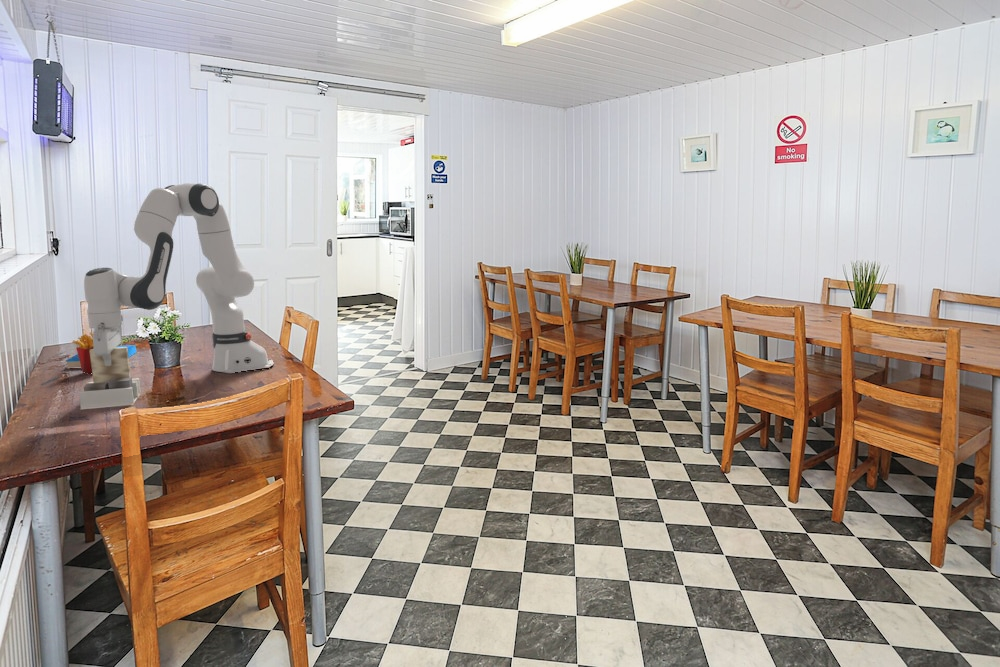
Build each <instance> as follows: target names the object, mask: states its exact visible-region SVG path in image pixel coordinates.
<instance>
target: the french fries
mask: <svg viewBox="0 0 1000 667" xmlns="http://www.w3.org/2000/svg"><path fill="white" fill-rule="evenodd" d="M72 343H73V344H75V345H77V347H76V352H77V354H78V356H79V360H80V364H81V368H82V369H81V370H82V373H83V372H85V373H88V374H91V373H92V366H91V359H90V351H89V350H90V349H94V347H93V332H89V335H87V334H86V333H84V334H83V335H81V336H80V337H79V336H78V337H77V340H73V341H72ZM85 373H84V374H85ZM88 374H87V375H88ZM91 375H92V374H91Z"/></svg>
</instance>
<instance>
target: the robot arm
mask: <svg viewBox="0 0 1000 667" xmlns="http://www.w3.org/2000/svg"><path fill="white" fill-rule="evenodd" d="M179 216H183V217H193V218H194V220H195V221H196V229H197V235H198V239H199V243H200V247H201V252H202V254H203V256H204V257H205V258H206V259H207V260H208V261H209V262H210V265H211V266H210V267H206V268H202V269H201V270H200V271H198V273H197V276H196V279H195V280H196V285H197V288H198V289H199V290H200V291H201V292H202V293H203V295H204V297H205V300H206V302H207V304H208V307H209V310H210V314H211V321H212V322H211V323H212V336H211V339H212V340H211V341H212V346H213V348H214V349H213V361H212V367H211V370H212V371H214V372H220V373H224V374H236V373H235V372H238V373H242V372H241V371H246V372H248V371H247V370H254V369H259V368H266V367H270V366H272V365H273V364H274V365H275V362H273V361H274V360H273V359H271V360H269V361H268V359H269V358H268V353H267V351H266V349H265V347H263V346H261V345H259V344H258V343H256V342H254V341H253V340H251V338H252V334H251V333H250V331H246V330H245V322H244V320H245V319H244V312H243V309H242V308H241V307H240V306H239V305H238V303H237V301H236V299H235V298H242V297H245V296H249V295H250V294H252V292H253V290H254V287H255V280H254V277H253V276H252V274H251V273H250V272H249V271H248V270H246V268H245V267H244V265H243V263H242V262H241V260H240V258H239V257H238V254H237V251H236V248H235V244H234V241H233V237H232V231H231V227H230V222H229V220H228V215H227V213H226V211H225V208H224V206H223V205H222V203H220V199H219V196H218V194H217V191H216V190H215V189H214V188H213V187H212V186H210V185H208V184H205V183H191V182H190V183H182V184H177V185H176V184H173V185H172V184H171V185H168V186H166V187H156V188H153V189H152V190H151V191H150V192H149V194H148V195H147V197H145V199H144V201H143V202H142V204H141V206H140V208H139V210H138V212H137V215H136V218H135V221H134V225H133V226H134V227H133V231H134V234H135V235H136V237H137V238H138V240H140V241H141V242H142V243H144V244H145V245H147V246H148V247H149V250H150V254H149V258H148V261H147V262H148V263H147V266H146V270H145V273H144V274H143V276H140V277H138V276H137V277H135V276H128V275H125V274H123V273H119V272H117V271H115V270H114V268H111V267H99V268H97V267H96V268H94V269H91V270H89V271H87V272H86V273H85V276H84V280H83V281H84V282H83V286H84V287H83V289H84V298H85V301H86V303H87V310H86V315H87V321H88V322H87V323H88V327H89V328H91V329H94V331H93V332H92V334H93V337H92V338H93V347H94V354H95V355H96V356H102V357H103V359H104V363H105V366H111V365H112V359H111V352H112V351H113V350H114V349H115V348H116V347H117V346H120V344H121V343H122V339H123V338H122V337H123V335H122V331H123V330H122V325H123V320H124V319H123V314H122V312H121V307H122V306H123V307H129V308H139V309H143V310H147V311H150V310H155V309H157V308H159V307H160V306H161V305H162V304H163V302H164V300H165V298H166V293H167V292H166V284H167V277H168V274H169V269H170V264H171V260H172V257H173V256H172V255H173V251H174V239H173V236H172V235H173V231H174V227H175V225H176V221H177V219H178V217H179ZM254 371H255V370H254Z"/></svg>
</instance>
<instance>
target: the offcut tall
mask: <svg viewBox="0 0 1000 667" xmlns="http://www.w3.org/2000/svg"><path fill="white" fill-rule="evenodd" d="M132 379H133V377H132V376H131V377H128V378H115V379H111V380H110V381H109V382H108V384H109V389H119V388H131V387H132V388H133V385H132ZM133 397H134V393H133Z"/></svg>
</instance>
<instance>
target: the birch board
mask: <svg viewBox="0 0 1000 667" xmlns="http://www.w3.org/2000/svg"><path fill="white" fill-rule="evenodd" d="M89 351H90V359H91V366H92V374H91V375H92V382H94V383H104V382H109V381H110V380H111V379H115V378H128V377H132V376H131V367H130V359H129V358H130V357H128V348H127V347H116V348H115V349H114V350H113V351H112V352H111V359H112V365H111V366H105V363H104V359H103V357H102V356H96V355H95V354H94V349H90V350H89Z"/></svg>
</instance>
